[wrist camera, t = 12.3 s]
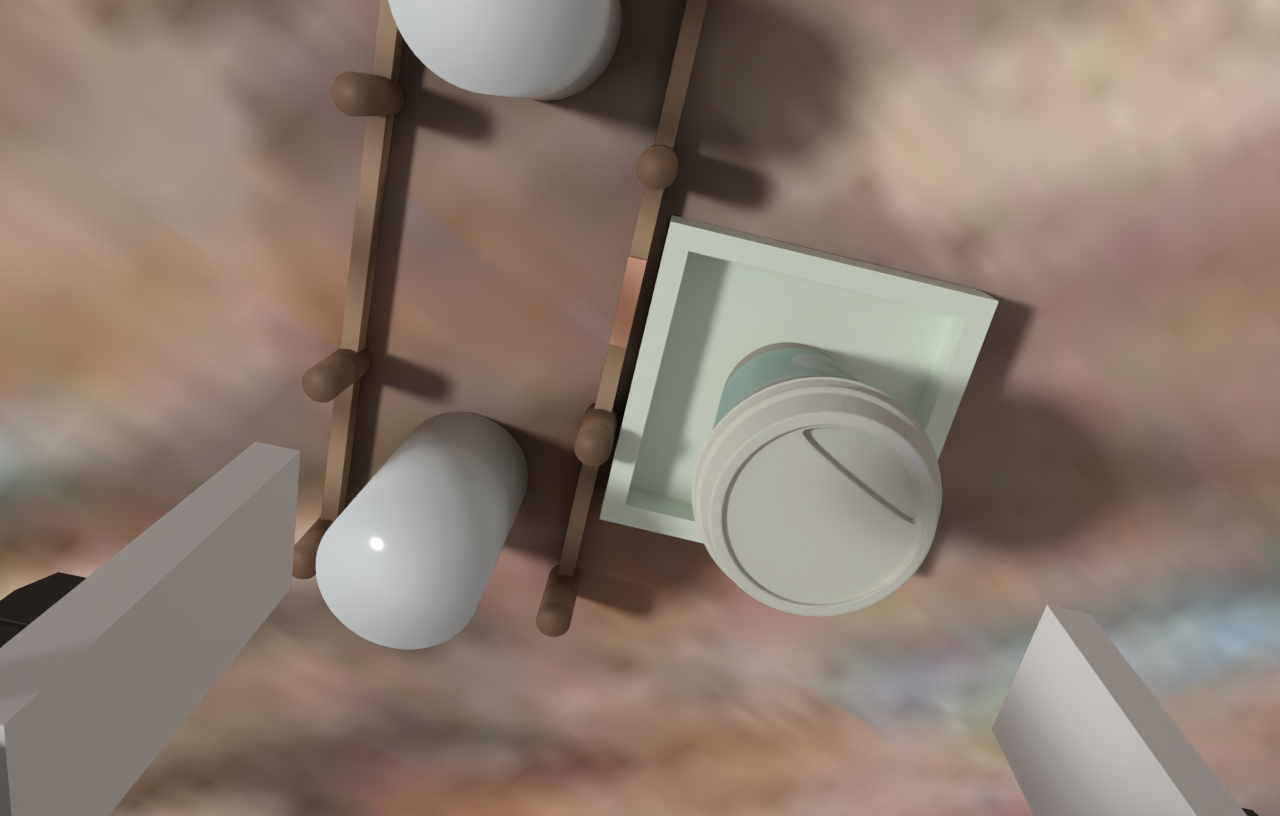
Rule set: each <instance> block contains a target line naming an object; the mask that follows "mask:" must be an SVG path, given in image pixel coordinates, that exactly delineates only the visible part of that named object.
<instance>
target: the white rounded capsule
mask: <svg viewBox="0 0 1280 816" xmlns="http://www.w3.org/2000/svg"><path fill="white" fill-rule="evenodd" d="M527 487H528V467H527V463H526V459H525V456H524V454H523V452H522V449H521V448H520V446H519V445H518V443H517V441H516V440H515V439H514V438H513V436H512V435H511V434H510V433H509V432H508V431H507V430H506V429H504V428H503V427H502V426H500V425H499V424H497V423H496V422H494V421H492V420H490V419H488V418H486V417H484V416H481V415H477V414H473V413H468V412H449V413H444V414H440V415H437V416H434V417H432V418H430V419H428V420H426V421H424V422H423V423H422V424H420V425H419V426H418V427H417V428H416V429H415V430H414V431H413V432H412V433H411V434H410V435H409V436H408V438H407V439H406V440H405V441H404V442H403V443H402V444H401V446H400V447H399V448H398V449H397V450H396V451H395V452H394V454H393V455H392V456H391V457H390V458H389V459H388V460H387V462H386V463H385V464H384V465H383V466H382V467H381V468H380V470H379V471H378V472H377V473H376V474H375V475H374V477H373V478H372V479H371V480H370V481H369V482H368V483H367V485H366V486H365V487H364V488H363V489H362V490H361V491H360V493H359V494H358V495H357V496H356V497H355V498H354V499H353V501H352V502H351V503H350V504H349V505H348V506H347V507H346V509H345V510H344V511H343V512H342V513H341V514H340V516H339V517H338V518H337V519H336V520H335V521H334V522H333V524H332V525H331V526H330V527H329V529H328V530H327V531H326V532H325V534H324V536H323V538H322V540H321V542H320V545H319V547H318V551H317V556H316V577H317V581H318V585H319V589H320V591H321V594H322V596H323V598H324V600H325V602H326V603H327V605H328V607H329V608H330V609H331V611H332V612H333V614H334V615H335V616H336V617H337V618H338V619H339V620H340V621H341V622H342V623H343V624H344V625H345V626H347V627H348V628H349V629H350V630H352V631H353V632H355V633H356V634H358V635H359V636H361V637H363V638H365V639H367V640H369V641H371V642H374V643H376V644H379V645H383V646H386V647H391V648H397V649H420V648H426V647H431V646H434V645H437V644H440V643H442V642H444V641H447V640H448V639H450V638H452V637H453V636H455V635H456V634H457V633H459V632H460V631H461V630H462V629H463V628H464V627H465V626H466V625H467V624H468V623H469V621H470V620H471V618H472V617H473V615H474V613H475V611H476V609H477V607H478V605H479V602H480V600H481V597H482V595H483V593H484V590H485V588H486V586H487V583H488V581H489V579H490V576H491V574H492V572H493V569H494V567H495V565H496V562H497V560H498V558H499V555H500V553H501V551H502V548H503V546H504V544H505V541H506V539H507V537H508V534H509V532H510V530H511V527H512V525H513V523H514V520H515V518H516V516H517V513H518V511H519V509H520V506H521V504H522V502H523V499H524V497H525V494H526V491H527Z"/></svg>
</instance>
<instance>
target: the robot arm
mask: <svg viewBox="0 0 1280 816" xmlns="http://www.w3.org/2000/svg"><path fill="white" fill-rule="evenodd" d="M299 463H300V451H298V450H293V449H288V448H283V447H278V446H274V445H269V444H264V443H259V442H255V443H254V444H252V445H251V446H250V447H249V448H247V449H246V450H245V451H244V452H242V453H241V454H240V455H239V456H237V457H236V458H235V459H234V460H233V461H231V462H230V463H229V464H228V465H226V466H225V467H224V468H223V469H221V470H220V471H219V472H218V473H216V474H215V475H214V476H213V477H211V478H210V479H209V480H208V481H206V482H205V483H204V484H203V485H202V486H200V487H199V488H198V489H197V490H195V491H194V492H193V493H192V494H190V495H189V496H188V497H187V498H185V499H184V500H183V501H182V502H180V503H179V504H178V505H177V506H176V507H174V508H173V509H172V510H171V511H169V512H168V513H167V514H166V515H164V516H163V517H162V518H161V519H159V520H158V521H157V522H156V523H154V524H153V525H152V526H151V527H150V528H148V529H147V530H146V531H145V532H143V533H142V534H141V535H140V536H138V537H137V538H136V539H135V540H133V541H132V542H131V543H130V544H128V545H127V546H126V547H125V548H123V549H122V550H121V551H120V552H119V553H117V554H116V555H115V556H114V557H112V558H111V559H110V560H109V561H107V562H106V563H105V564H104V565H102V566H101V567H100V568H99V569H97V570H96V571H95V572H94V573H93V574H91V575H90V576H89V577H88V578H84V577H80V576H75V575H70V574H65V573H60V572H58V573H55V574H53V575H51V576H48V577H46V578H43V579H41V580H38V581H36V582H34V583H31V584H29V585H26V586H24V587H21V588H19V589H17V590H14V591H13V592H12V593H10V594H9V595H8V596H6V597H5V598H4V599H2V600H1V601H0V816H109V815H110V813H111V812H112V811H113V810H114V808H115V807H116V806H117V805H118V803H119V802H120V801H121V800H122V798H123V797H124V796H125V795H126V793H127V792H128V791H129V790H130V788H131V787H132V786H133V785H134V783H135V782H136V781H137V780H138V778H139V777H140V776H141V775H142V773H143V772H144V771H145V770H146V768H147V767H148V766H149V765H150V763H151V762H152V761H153V760H154V758H155V757H156V756H157V755H158V753H159V752H160V751H161V750H162V748H163V747H164V746H165V745H166V743H167V742H168V741H169V740H170V738H171V737H172V736H173V735H174V733H175V732H176V731H177V730H178V728H179V727H180V726H181V725H182V723H183V722H184V721H185V720H186V718H187V717H188V716H189V715H190V713H191V712H192V711H193V710H194V708H195V707H196V706H197V705H198V703H199V702H200V701H201V700H202V698H203V697H204V696H205V695H206V693H207V692H208V691H209V690H210V688H211V687H212V686H213V685H214V683H215V682H216V681H217V680H218V678H219V677H220V676H221V675H222V673H223V672H224V671H225V670H226V668H227V667H228V666H229V665H230V663H231V662H232V661H233V660H234V658H235V657H236V656H237V655H238V653H239V652H240V651H241V650H242V648H243V647H244V646H245V645H246V643H247V642H248V641H249V640H250V638H251V637H252V636H253V635H254V633H255V632H256V631H257V630H258V628H259V627H260V626H261V625H262V623H263V622H264V621H265V620H266V618H267V617H268V616H269V615H270V613H271V612H272V611H273V610H274V608H275V607H276V606H277V605H278V603H279V602H280V601H281V600H282V598H283V597H284V596H285V595H286V593H287V592H288V591H289V590H290V588H291V587H292V571H293V556H294V540H295V525H296V509H297V494H298V478H299ZM992 730H993V732H994V734H995V736H996V738H997V740H998V742H999V744H1000V746H1001V748H1002V751H1003V753H1004V755H1005V757H1006V759H1007V761H1008V763H1009V765H1010V767H1011V769H1012V771H1013V773H1014V775H1015V777H1016V779H1017V782H1018V784H1019V786H1020V788H1021V790H1022V792H1023V794H1024V796H1025V798H1026V800H1027V802H1028V804H1029V806H1030V808H1031V810H1032V813H1033V815H1034V816H1258V815H1257V814H1256V813H1255V812H1254V811H1253V810H1249V809H1245V808H1241V807H1240V806H1239V804H1238V803H1237V802H1236V801H1235V799H1234V798H1233V797H1232V795H1231V794H1230V793H1229V792H1228V790H1227V789H1226V788H1225V787H1224V785H1223V784H1222V783H1221V781H1220V780H1219V779H1218V778H1217V776H1216V775H1215V774H1214V772H1213V771H1212V770H1211V769H1210V767H1209V766H1208V765H1207V763H1206V762H1205V761H1204V760H1203V758H1202V757H1201V756H1200V754H1199V753H1198V752H1197V751H1196V749H1195V748H1194V747H1193V745H1192V744H1191V743H1190V742H1189V740H1188V739H1187V738H1186V737H1185V735H1184V734H1183V733H1182V731H1181V730H1180V729H1179V728H1178V726H1177V725H1176V724H1175V722H1174V721H1173V720H1172V719H1171V717H1170V716H1169V715H1168V713H1167V712H1166V711H1165V710H1164V708H1163V707H1162V706H1161V704H1160V703H1159V702H1158V701H1157V699H1156V698H1155V697H1154V695H1153V694H1152V693H1151V692H1150V690H1149V689H1148V688H1147V686H1146V685H1145V684H1144V683H1143V681H1142V680H1141V679H1140V678H1139V676H1138V675H1137V674H1136V672H1135V671H1134V670H1133V669H1132V667H1131V666H1130V665H1129V663H1128V662H1127V661H1126V660H1125V658H1124V657H1123V656H1122V654H1121V653H1120V652H1119V651H1118V649H1117V648H1116V647H1115V645H1114V644H1113V643H1112V642H1111V640H1110V639H1109V638H1108V636H1107V635H1106V634H1105V633H1104V631H1103V630H1102V629H1101V627H1100V626H1099V625H1098V624H1097V622H1096V621H1095V620H1094V619H1093V617H1092V616H1091V615H1090V614H1089V613H1084V612H1079V611H1074V610H1069V609H1065V608H1060V607H1055V606H1050V605H1047V606H1046V609H1045V611H1044V613H1043V615H1042V618H1041V620H1040V622H1039V624H1038V627H1037V629H1036V631H1035V633H1034V636H1033V638H1032V640H1031V642H1030V645H1029V647H1028V649H1027V651H1026V654H1025V656H1024V658H1023V660H1022V663H1021V665H1020V667H1019V669H1018V672H1017V674H1016V676H1015V678H1014V681H1013V683H1012V685H1011V687H1010V690H1009V692H1008V694H1007V696H1006V699H1005V701H1004V703H1003V705H1002V708H1001V710H1000V712H999V714H998V717H997V719H996V721H995V723H994V726H993V728H992Z"/></svg>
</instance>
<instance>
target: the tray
mask: <svg viewBox="0 0 1280 816" xmlns="http://www.w3.org/2000/svg"><path fill="white" fill-rule="evenodd" d="M998 302H999V301H998V300H996V299H994V298H993V297H991V296H989V295H987V294H986V293H984V292H982V291H981V290H979V289H975V288H971V287H966V286H962V285H958V284H954V283H950V282H946V281H942V280H938V279H934V278H929V277H925V276H921V275H917V274H913V273H909V272H905V271H901V270H897V269H892V268H888V267H884V266H880V265H876V264H872V263H868V262H864V261H859V260H855V259H851V258H847V257H843V256H839V255H835V254H831V253H827V252H822V251H818V250H814V249H810V248H806V247H802V246H798V245H794V244H790V243H785V242H781V241H777V240H773V239H769V238H765V237H761V236H757V235H753V234H748V233H744V232H740V231H736V230H732V229H728V228H724V227H720V226H716V225H711V224H707V223H703V222H699V221H695V220H691V219H687V218H683V217H678V216H674V215H672V217H671V221H670V225H669V229H668V233H667V237H666V242H665V246H664V250H663V254H662V258H661V262H660V267H659V271H658V275H657V279H656V283H655V287H654V292H653V296H652V300H651V304H650V308H649V312H648V317H647V321H646V325H645V329H644V333H643V337H642V342H641V346H640V350H639V354H638V358H637V362H636V367H635V371H634V375H633V379H632V383H631V387H630V392H629V396H628V400H627V404H626V408H625V412H624V417H623V421H622V425H621V429H620V433H619V437H618V442H617V446H616V450H615V454H614V458H613V462H612V467H611V471H610V475H609V479H608V483H607V487H606V492H605V496H604V500H603V505H602V509H601V514H600V519H601V520H605V521H609V522H613V523H618V524H622V525H626V526H631V527H635V528H639V529H644V530H648V531H652V532H656V533H661V534H665V535H669V536H674V537H678V538H682V539H686V540H691V541H695V542H699V543H704V542H703V540H702V538H701V535H700V533H699V531H698V528H697V525H696V522H695V518H694V514H693V508H692V495H691V494H692V480H693V474H694V469H695V465H696V462H697V459H698V456H699V454H700V452H701V449H702V447H703V445H704V443H705V441H706V440H707V438H708V437H709V435H710V433H711V432H712V431H713V427H714V423H715V419H716V415H717V411H718V407H719V403H720V399H721V396H722V392H723V389H724V386H725V383H726V380H727V378H728V376H729V375H730V373H731V371H732V370H733V369H734V367H735V366H736V365H737V364H738V363H739V362H740V361H741V360H742V359H743V358H744V357H746V356H747V355H748V354H750V353H751V352H753V351H755V350H757V349H759V348H761V347H763V346H766V345H770V344H774V343H782V342H793V343H800V344H804V345H808V346H811V347H813V348H815V349H817V350H819V351H821V352H822V353H824V354H825V355H827V356H828V357H829V358H830V359H832V360H833V361H834V362H836V363H837V364H838V365H839V366H841V367H842V368H843V369H844V370H846V371H847V372H848V373H849V374H851V375H852V376H853V377H854V378H856V379H857V380H858V381H859V382H860V383H863V384H865V385H868V386H871V387H873V388H875V389H878V390H880V391H882V392H883V393H885V394H887V395H889V396H890V397H892V398H893V399H895V400H896V401H897V402H899V403H900V404H901V405H902V406H904V407H905V408H906V409H907V410H908V411H909V412H910V413H911V414H912V415H913V416H914V417H915V418H916V420H917V421H918V422H919V423H920V425H921V426H922V428H923V429H924V431H925V432H926V434H927V436H928V437H929V439H930V441H931V444H932V446H933V448H934V451H935V454H936V457H937V461H938V459H939V456H940V454H941V451H942V449H943V446H944V443H945V441H946V438H947V435H948V433H949V430H950V428H951V425H952V422H953V420H954V417H955V415H956V412H957V409H958V407H959V404H960V401H961V399H962V396H963V394H964V391H965V388H966V386H967V383H968V381H969V378H970V375H971V373H972V370H973V367H974V365H975V362H976V360H977V357H978V354H979V352H980V349H981V347H982V344H983V341H984V339H985V336H986V334H987V331H988V328H989V326H990V323H991V320H992V318H993V315H994V313H995V310H996V307H997V305H998Z"/></svg>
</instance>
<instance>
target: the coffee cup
mask: <svg viewBox="0 0 1280 816" xmlns="http://www.w3.org/2000/svg"><path fill="white" fill-rule="evenodd" d="M691 495H692V508H693V514H694V518H695V522H696V525H697V528H698V531H699V533H700V535H701V538H702V540H703V542H704V544H705V547H706V548H707V550H708V552H709V554H710V555H711V557H712V558H713V560H714V561H715V562H716V564H717V565H718V566H719V567H720V569H721V570H722V571H723V572H724V573H725V574H726V575H727V576H728V577H729V578H730V579H732V580H733V581H734V582H735V583H736V584H737V585H738V586H739V587H740V588H741V589H743V590H744V591H745V592H746V593H747V594H749V595H750V596H752V597H753V598H755V599H756V600H758V601H760V602H762V603H764V604H766V605H767V606H770V607H772V608H775V609H778V610H780V611H784V612H787V613H791V614H796V615H803V616H821V617H824V616H835V615H841V614H847V613H851V612H854V611H858V610H861V609H864V608H866V607H868V606H871V605H873V604H875V603H877V602H879V601H881V600H883V599H884V598H886V597H888V596H890V595H891V594H892V593H894V592H895V591H896V590H897V589H899V588H900V587H901V586H903V585H904V584H905V583H906V582H907V581H908V580H909V579H910V578H911V577H912V575H913V574H914V573H915V572H916V571H917V569H918V568H919V567H920V565H921V564H922V562H923V561H924V559H925V557H926V556H927V554H928V552H929V550H930V547H931V545H932V542H933V540H934V537H935V533H936V529H937V523H938V520H939V516H940V511H941V503H942V482H941V475H940V470H939V466H938V461H937V457H936V454H935V451H934V448H933V446H932V444H931V441H930V439H929V437H928V436H927V434H926V432H925V431H924V429H923V428H922V426H921V425H920V423H919V422H918V421H917V420H916V418H915V417H914V416H913V415H912V414H911V413H910V412H909V411H908V410H907V409H906V408H905V407H904V406H902V405H901V404H900V403H899V402H897V401H896V400H895V399H893V398H892V397H890V396H889V395H887V394H885V393H883V392H882V391H880V390H878V389H875V388H873V387H871V386H868V385H865V384H863V383H860V382H859V381H858V380H857V379H856V378H854V377H853V376H852V375H851V374H849V373H848V372H847V371H846V370H844V369H843V368H842V367H841V366H839V365H838V364H837V363H836V362H834V361H833V360H832V359H830V358H829V357H828V356H827V355H825V354H824V353H822V352H821V351H819V350H817V349H815V348H813V347H811V346H808V345H804V344H800V343H793V342H782V343H774V344H770V345H766V346H763V347H761V348H759V349H757V350H755V351H753V352H751V353H750V354H748V355H747V356H746V357H744V358H743V359H742V360H741V361H740V362H739V363H738V364H737V365H736V366H735V367H734V369H733V370H732V371H731V373H730V375H729V376H728V378H727V380H726V383H725V386H724V389H723V392H722V396H721V399H720V403H719V407H718V411H717V415H716V419H715V423H714V427H713V431H712V432H711V433H710V435H709V437H708V438H707V440H706V441H705V443H704V445H703V447H702V449H701V452H700V454H699V456H698V459H697V462H696V465H695V469H694V474H693V480H692V494H691Z"/></svg>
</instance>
